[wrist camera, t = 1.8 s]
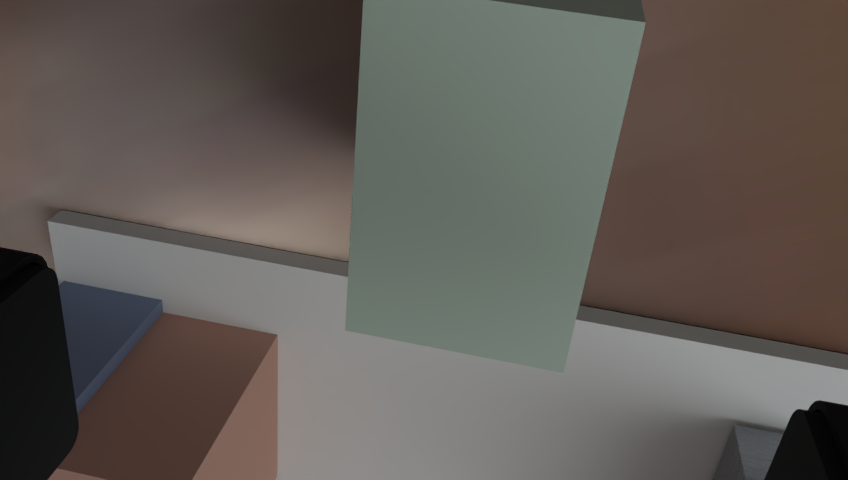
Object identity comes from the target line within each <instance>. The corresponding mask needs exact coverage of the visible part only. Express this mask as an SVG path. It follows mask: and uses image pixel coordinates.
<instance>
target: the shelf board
mask: <svg viewBox="0 0 848 480" xmlns="http://www.w3.org/2000/svg"><path fill="white" fill-rule="evenodd" d="M48 228H49V234H50V240H51V246H52V252H53V258H54V264H55V270H56V275H57V278H58V284H59V285H60V284H61V283H62V282H63V281H68V282H73V283H78V284H83V285H88V286H93V287H98V288H103V289H109V290H114V291H119V292H124V293H129V294H134V295H139V296H144V297H150V298H155V299H160V300H162V306H163V312H164V313H169V314H175V315H180V316H185V317H190V318H195V319H200V320H205V321H210V322H215V323H220V324H225V325H230V326H235V327H241V328H246V329H251V330H256V331H261V332H266V333H271V334H276V335H278V471H277V478H276V480H712V479H713V477H714V474H715V472H716V469H717V467H718V464H719V461H720V459H721V456H722V454H723V451H724V449H725V446H726V443H727V441H728V438H729V436H730V433H731V431H732V428H733V426H734V425H739V426H744V427H749V428H754V429H759V430H764V431H769V432H774V433H779V434H784V431H785V429H786V427H787V424H788V422H789V420H790V417H791V416H792V414H793V412H794V411H795V410H797V409H802V410H808V409H809V407H810V406H811V405H812V404H813V403H814V402H815V401H818V400H821V401H827V402H832V403H837V404H843V405H848V355H847V354H842V353H836V352H831V351H825V350H820V349H815V348H809V347H804V346H798V345H793V344H787V343H782V342H777V341H771V340H766V339H760V338H755V337H749V336H744V335H739V334H733V333H728V332H722V331H717V330H711V329H706V328H701V327H695V326H690V325H684V324H679V323H673V322H668V321H663V320H657V319H652V318H646V317H641V316H635V315H630V314H624V313H619V312H614V311H608V310H603V309H597V308H592V307H586V306H581V305H579V309H578V313H577V317H576V321H575V326H574V330H573V334H572V338H571V343H570V347H569V351H568V355H567V360H566V364H565V368H564V372H563V373H561V372H556V371H551V370H546V369H541V368H536V367H530V366H525V365H520V364H515V363H510V362H505V361H500V360H494V359H489V358H484V357H479V356H474V355H469V354H464V353H458V352H453V351H448V350H443V349H438V348H433V347H428V346H422V345H417V344H412V343H407V342H402V341H397V340H392V339H386V338H381V337H376V336H371V335H366V334H361V333H356V332H350V331H345V322H346V304H347V285H348V267H349V263H347V262H342V261H337V260H331V259H326V258H320V257H315V256H309V255H304V254H299V253H293V252H288V251H282V250H277V249H271V248H266V247H261V246H255V245H250V244H244V243H239V242H233V241H228V240H222V239H217V238H212V237H206V236H201V235H195V234H190V233H184V232H179V231H174V230H168V229H163V228H157V227H152V226H146V225H141V224H136V223H130V222H125V221H119V220H114V219H108V218H103V217H98V216H92V215H87V214H81V213H76V212H70V211H65V210H61V211H60V212H58V213H57V214H56V215H55V216H53V217H52V218H51V219H49V220H48Z"/></svg>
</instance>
